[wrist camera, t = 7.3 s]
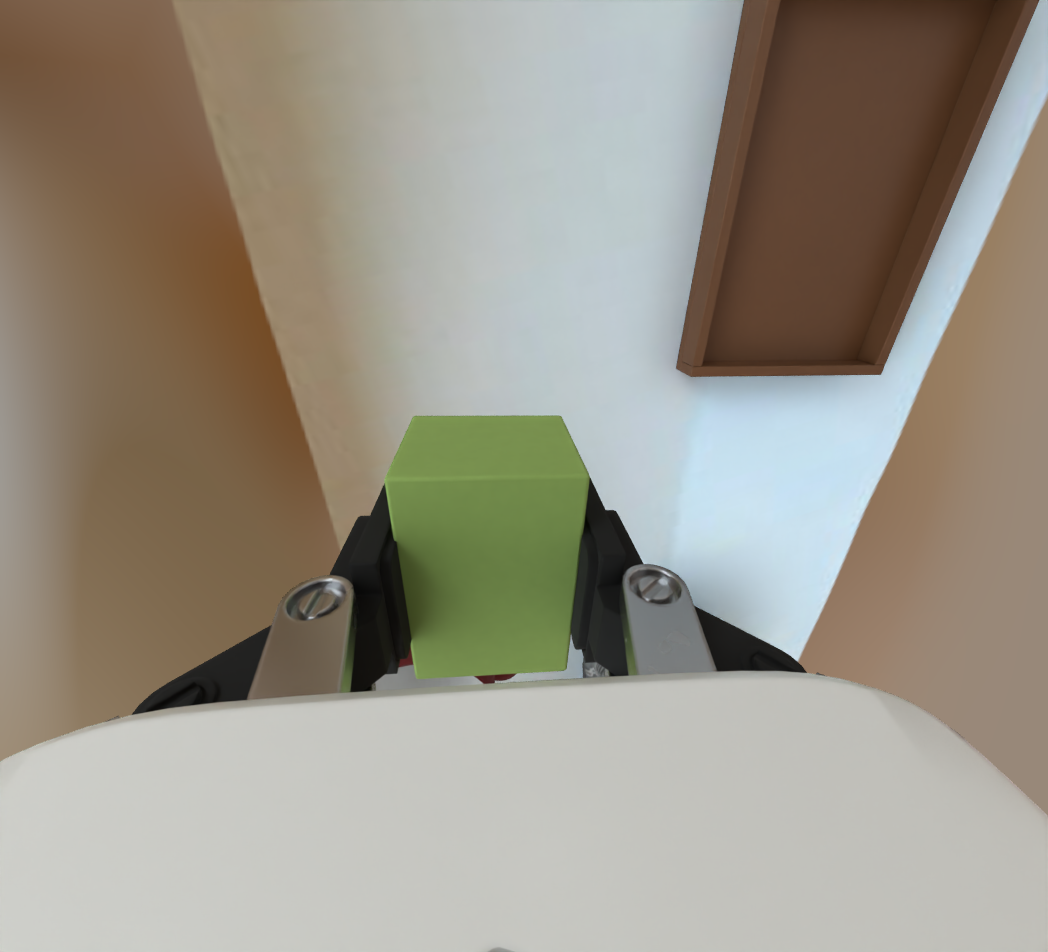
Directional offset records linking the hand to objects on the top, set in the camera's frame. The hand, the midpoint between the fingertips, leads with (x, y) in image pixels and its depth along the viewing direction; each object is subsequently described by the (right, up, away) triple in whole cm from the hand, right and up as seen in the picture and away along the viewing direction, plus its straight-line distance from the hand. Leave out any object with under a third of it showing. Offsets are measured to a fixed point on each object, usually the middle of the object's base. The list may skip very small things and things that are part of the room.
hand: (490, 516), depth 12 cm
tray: (+17, +16, +10) cm, 25 cm away
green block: (0, 0, 0) cm, 0 cm away
